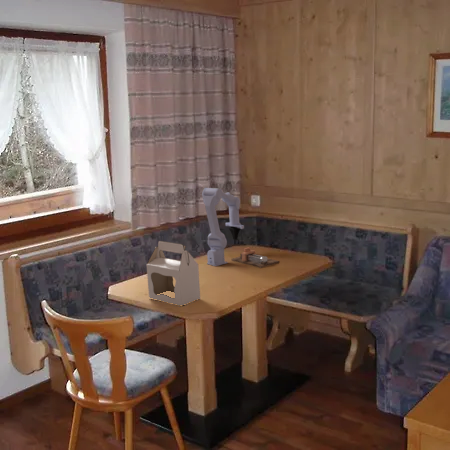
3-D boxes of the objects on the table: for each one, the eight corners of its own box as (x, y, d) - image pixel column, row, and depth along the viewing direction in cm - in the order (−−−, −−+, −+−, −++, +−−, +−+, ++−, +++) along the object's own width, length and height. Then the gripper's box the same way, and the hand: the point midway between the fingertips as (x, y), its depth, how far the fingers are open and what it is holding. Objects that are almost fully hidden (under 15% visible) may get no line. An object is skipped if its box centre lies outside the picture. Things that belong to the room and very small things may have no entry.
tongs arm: (263, 261, 367) (263, 256, 366) (261, 261, 366) (261, 256, 365) (246, 257, 378) (245, 252, 377) (244, 257, 377) (244, 252, 376)
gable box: (201, 299, 310) (197, 242, 304) (182, 307, 300) (178, 248, 295) (167, 291, 324) (163, 237, 319) (148, 299, 314) (144, 242, 309)
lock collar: (255, 258, 374) (254, 247, 373) (245, 261, 370) (244, 250, 368) (251, 257, 377) (251, 246, 375) (241, 260, 372) (241, 249, 371)
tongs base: (269, 263, 363) (268, 257, 363) (263, 264, 361) (263, 258, 360) (246, 257, 378) (245, 251, 377) (240, 259, 375) (240, 253, 374)
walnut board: (279, 262, 367) (279, 261, 367) (261, 268, 358) (261, 266, 358) (249, 255, 386) (249, 254, 386) (231, 260, 377) (231, 258, 377)
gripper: (247, 217, 382) (248, 239, 385) (231, 214, 393) (232, 236, 396) (238, 219, 378) (239, 241, 381) (222, 216, 389) (223, 238, 392)
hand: (235, 239), depth 388 cm, fingers closed
